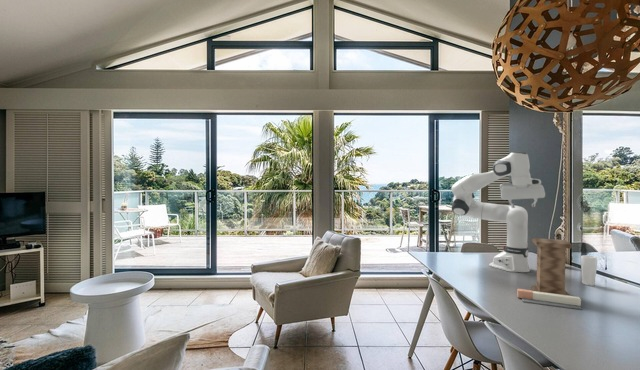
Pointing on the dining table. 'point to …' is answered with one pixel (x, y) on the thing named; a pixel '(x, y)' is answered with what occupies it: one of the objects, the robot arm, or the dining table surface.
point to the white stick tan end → (548, 297)
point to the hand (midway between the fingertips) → (523, 207)
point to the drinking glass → (588, 269)
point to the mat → (550, 303)
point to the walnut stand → (551, 265)
